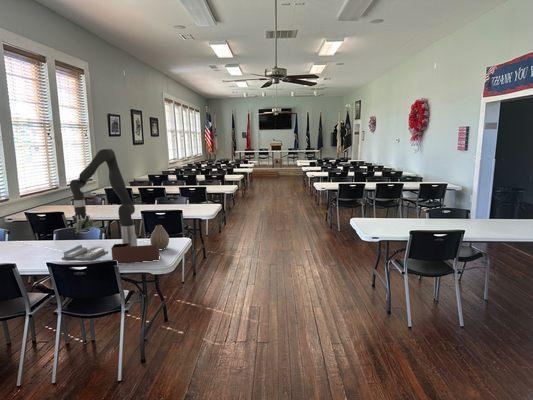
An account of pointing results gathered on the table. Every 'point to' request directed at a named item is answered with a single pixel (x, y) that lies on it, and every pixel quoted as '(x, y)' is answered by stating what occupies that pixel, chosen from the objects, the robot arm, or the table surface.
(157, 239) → the vase
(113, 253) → the desk organizer
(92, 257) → the vise bed
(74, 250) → the sliding jaw
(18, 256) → the table surface
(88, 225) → the handheld radio
